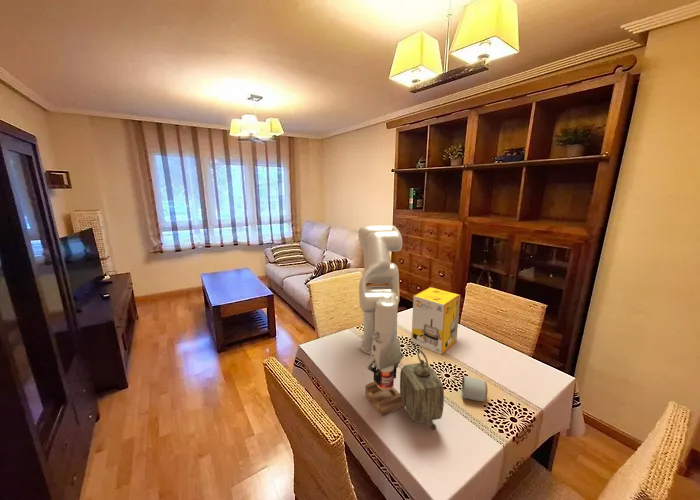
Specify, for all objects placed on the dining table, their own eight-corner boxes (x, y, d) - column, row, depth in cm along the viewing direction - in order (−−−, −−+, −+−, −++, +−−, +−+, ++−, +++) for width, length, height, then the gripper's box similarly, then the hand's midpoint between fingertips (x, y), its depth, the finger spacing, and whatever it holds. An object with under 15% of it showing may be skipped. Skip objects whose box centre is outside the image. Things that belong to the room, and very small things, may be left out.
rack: (365, 395, 106) (365, 384, 105) (387, 386, 111) (387, 376, 110) (381, 416, 97) (382, 404, 96) (404, 405, 102) (405, 394, 100)
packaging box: (456, 341, 143) (460, 294, 137) (441, 354, 131) (444, 305, 126) (427, 330, 154) (430, 286, 148) (411, 341, 143) (413, 295, 137)
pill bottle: (382, 393, 98) (382, 364, 96) (373, 382, 104) (373, 355, 101) (397, 387, 101) (397, 359, 98) (387, 377, 106) (388, 350, 104)
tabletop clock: (441, 433, 90) (446, 364, 84) (415, 438, 88) (418, 368, 83) (421, 400, 104) (424, 339, 98) (398, 404, 102) (400, 342, 96)
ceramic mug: (486, 407, 100) (489, 388, 99) (462, 402, 103) (464, 383, 101) (482, 387, 110) (484, 370, 109) (460, 383, 113) (461, 366, 111)
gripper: (370, 346, 91) (370, 394, 95) (412, 332, 99) (410, 377, 103) (359, 335, 97) (359, 381, 101) (399, 323, 105) (397, 366, 109)
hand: (385, 378), depth 102 cm, fingers closed on pill bottle, 6 cm apart
